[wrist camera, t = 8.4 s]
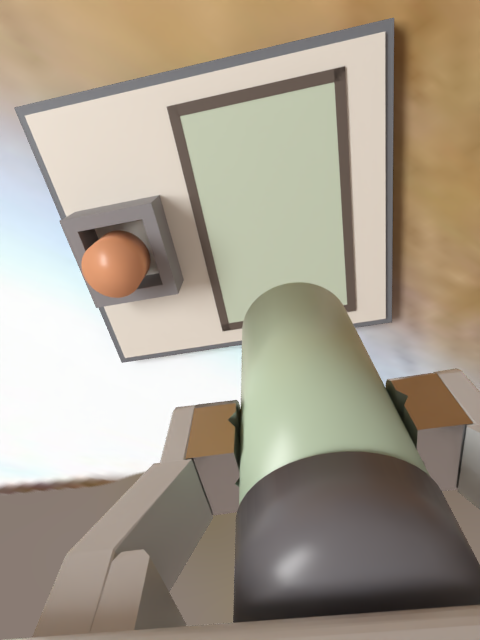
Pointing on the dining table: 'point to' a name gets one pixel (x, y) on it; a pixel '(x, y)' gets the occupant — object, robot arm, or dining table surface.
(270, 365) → the marker
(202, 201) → the cream board with holder
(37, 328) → the dining table surface
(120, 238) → the button
